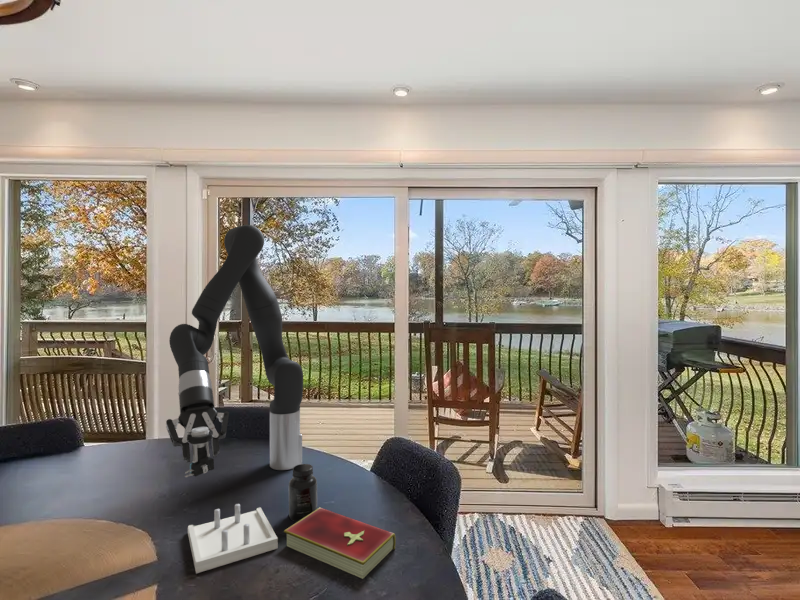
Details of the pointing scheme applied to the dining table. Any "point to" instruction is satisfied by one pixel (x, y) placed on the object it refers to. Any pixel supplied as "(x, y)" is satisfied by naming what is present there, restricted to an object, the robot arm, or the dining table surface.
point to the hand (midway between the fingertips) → (202, 457)
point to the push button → (200, 451)
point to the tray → (230, 539)
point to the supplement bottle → (302, 492)
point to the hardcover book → (340, 541)
